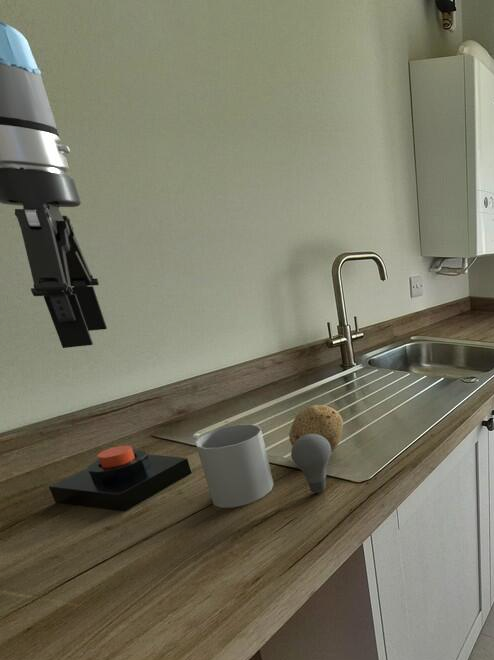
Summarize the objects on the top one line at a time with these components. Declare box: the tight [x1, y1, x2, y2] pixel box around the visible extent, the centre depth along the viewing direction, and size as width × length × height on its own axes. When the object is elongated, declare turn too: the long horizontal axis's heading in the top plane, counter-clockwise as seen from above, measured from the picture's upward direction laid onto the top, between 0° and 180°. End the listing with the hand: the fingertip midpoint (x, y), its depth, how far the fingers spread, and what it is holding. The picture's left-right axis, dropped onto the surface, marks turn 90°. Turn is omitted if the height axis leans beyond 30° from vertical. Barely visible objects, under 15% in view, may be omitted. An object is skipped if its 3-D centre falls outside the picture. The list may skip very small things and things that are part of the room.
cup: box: [195, 423, 275, 509], centre depth 64 cm, size 8×8×10 cm
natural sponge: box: [288, 404, 344, 454], centre depth 75 cm, size 9×9×10 cm
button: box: [97, 445, 135, 468], centre depth 65 cm, size 4×4×2 cm
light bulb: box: [290, 434, 332, 494], centre depth 64 cm, size 6×6×10 cm
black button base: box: [48, 449, 192, 513], centre depth 66 cm, size 13×11×5 cm
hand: (87, 337), depth 58 cm, fingers open, 13 cm apart
